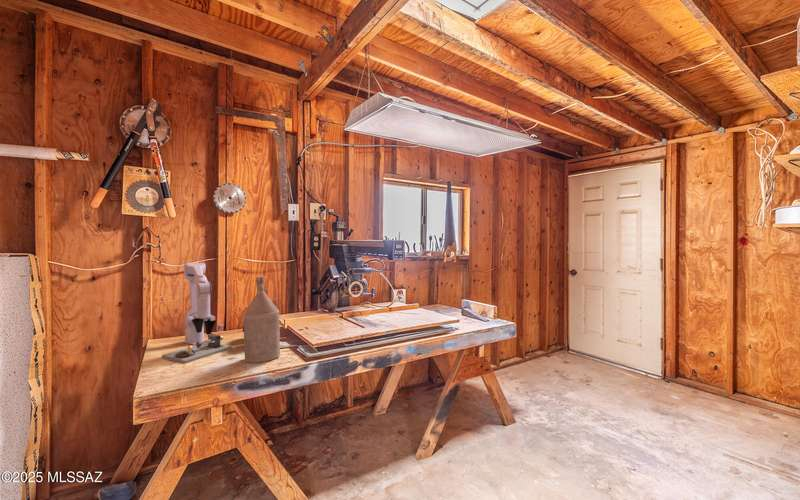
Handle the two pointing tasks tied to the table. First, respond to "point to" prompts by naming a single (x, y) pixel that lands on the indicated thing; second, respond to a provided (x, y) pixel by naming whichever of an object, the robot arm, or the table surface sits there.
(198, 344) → the headed rod
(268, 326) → the grey brown bottle
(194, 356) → the board
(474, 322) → the table surface
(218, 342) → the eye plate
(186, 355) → the handwheel
